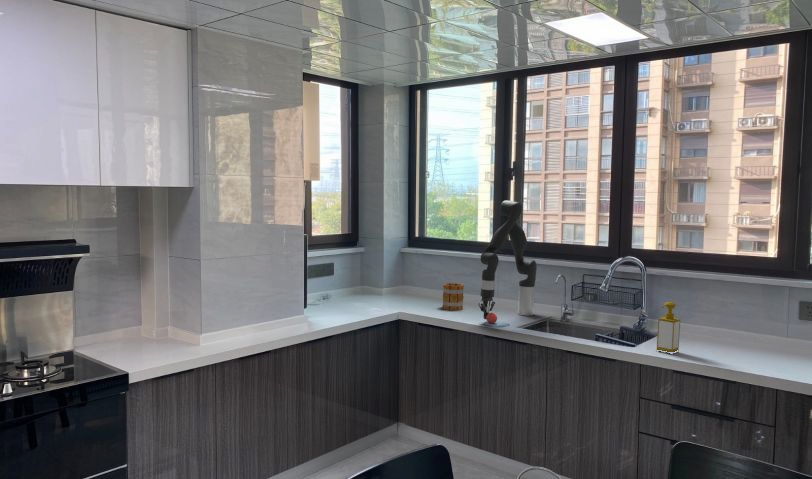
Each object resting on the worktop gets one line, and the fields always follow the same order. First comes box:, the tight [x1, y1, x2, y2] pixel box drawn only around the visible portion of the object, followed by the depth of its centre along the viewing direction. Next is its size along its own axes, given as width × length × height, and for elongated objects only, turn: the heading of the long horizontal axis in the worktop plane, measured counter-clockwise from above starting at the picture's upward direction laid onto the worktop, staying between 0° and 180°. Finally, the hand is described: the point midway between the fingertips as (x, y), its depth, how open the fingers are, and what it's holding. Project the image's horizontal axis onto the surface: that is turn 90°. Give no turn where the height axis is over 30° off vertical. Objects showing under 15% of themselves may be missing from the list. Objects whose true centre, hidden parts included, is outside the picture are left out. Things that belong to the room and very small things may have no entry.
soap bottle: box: [656, 301, 681, 352], centre depth 281 cm, size 7×13×24 cm, turn 134°
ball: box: [485, 312, 498, 323], centre depth 336 cm, size 6×6×6 cm
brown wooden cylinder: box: [441, 282, 465, 311], centre depth 382 cm, size 20×14×15 cm
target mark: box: [483, 320, 510, 328], centre depth 335 cm, size 14×14×1 cm
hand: (485, 318), depth 339 cm, fingers closed
